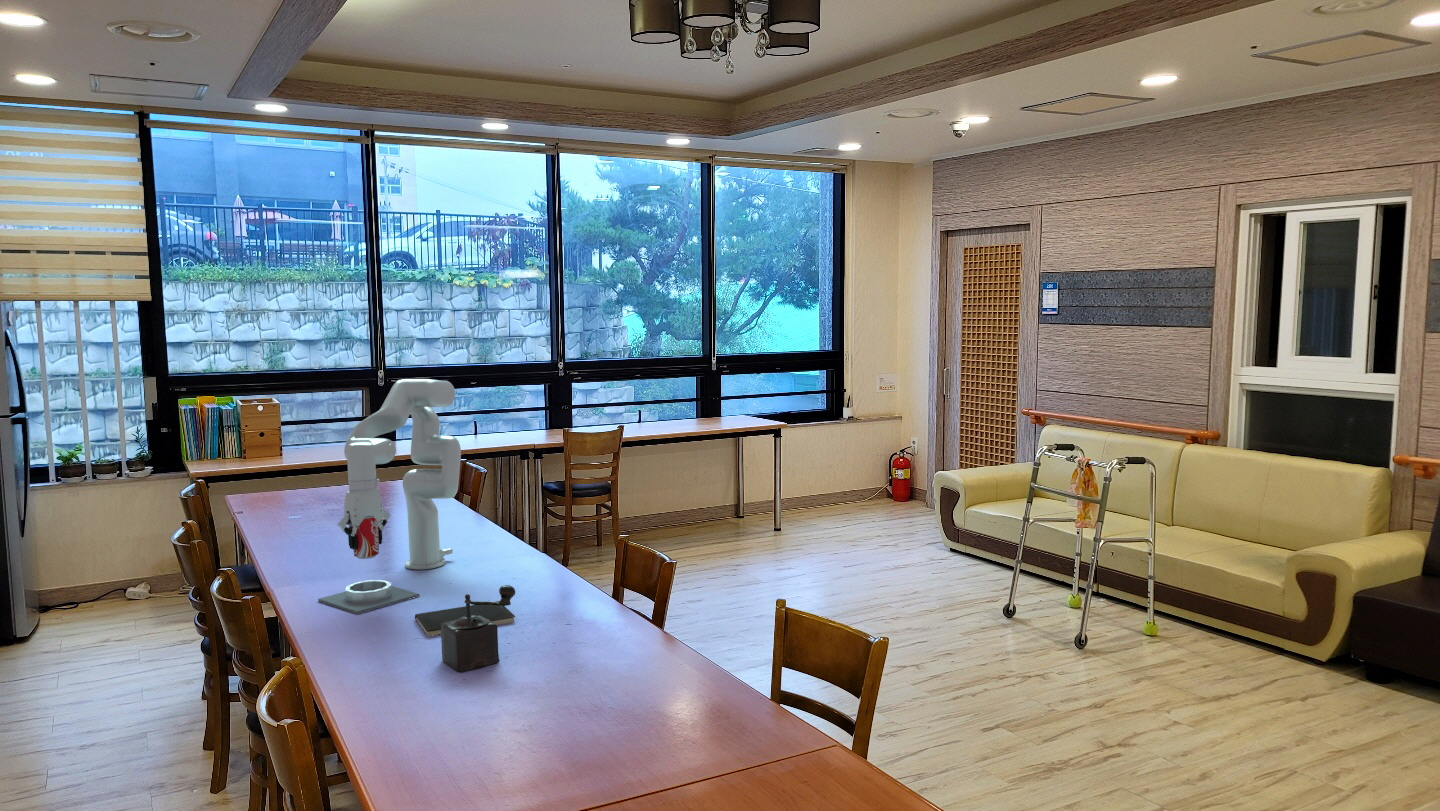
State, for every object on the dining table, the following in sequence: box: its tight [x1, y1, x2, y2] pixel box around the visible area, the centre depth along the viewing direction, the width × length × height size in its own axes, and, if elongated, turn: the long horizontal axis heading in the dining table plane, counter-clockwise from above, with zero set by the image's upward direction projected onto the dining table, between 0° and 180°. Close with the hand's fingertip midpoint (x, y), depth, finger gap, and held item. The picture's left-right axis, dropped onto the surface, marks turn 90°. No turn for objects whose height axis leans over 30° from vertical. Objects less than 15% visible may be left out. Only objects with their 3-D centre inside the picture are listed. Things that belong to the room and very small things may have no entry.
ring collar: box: [345, 579, 392, 603], centre depth 289 cm, size 12×12×3 cm
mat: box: [318, 585, 420, 615], centre depth 289 cm, size 20×20×1 cm
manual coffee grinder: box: [440, 584, 516, 674], centre depth 238 cm, size 16×11×18 cm
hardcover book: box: [414, 600, 516, 637], centre depth 268 cm, size 16×23×2 cm
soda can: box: [352, 516, 380, 560], centre depth 287 cm, size 7×7×12 cm
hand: (365, 545), depth 287 cm, fingers closed on soda can, 7 cm apart
